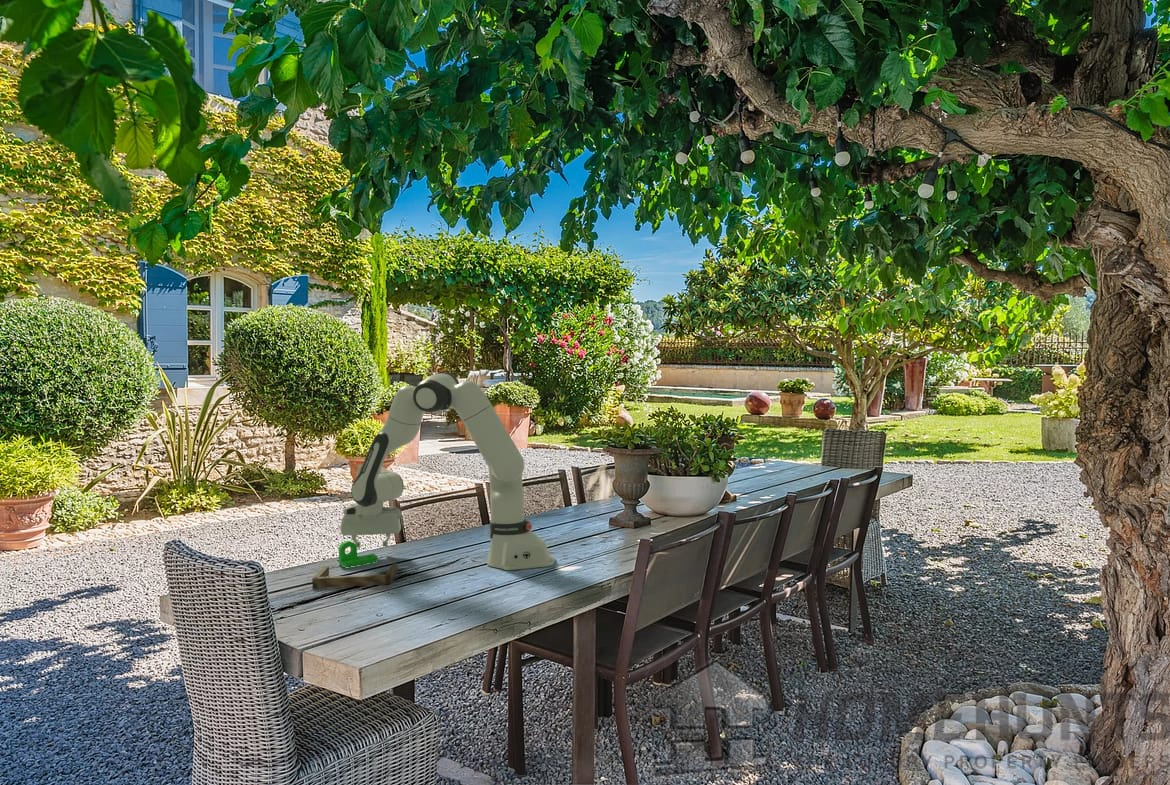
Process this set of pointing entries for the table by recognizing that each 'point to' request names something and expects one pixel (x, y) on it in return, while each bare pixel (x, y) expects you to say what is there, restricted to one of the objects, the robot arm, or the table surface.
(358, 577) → the walnut bay
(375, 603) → the table surface
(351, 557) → the mechanical part
